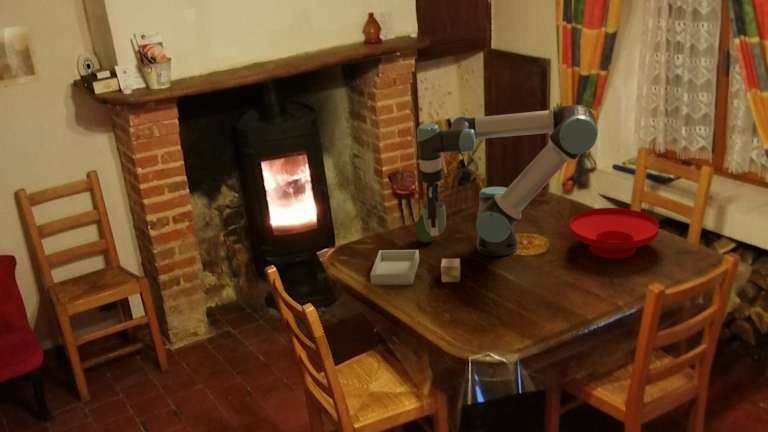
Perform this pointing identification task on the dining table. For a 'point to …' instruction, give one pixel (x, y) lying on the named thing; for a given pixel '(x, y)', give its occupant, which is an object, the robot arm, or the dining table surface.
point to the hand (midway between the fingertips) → (435, 230)
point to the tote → (395, 267)
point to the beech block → (450, 270)
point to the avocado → (422, 231)
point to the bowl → (614, 230)
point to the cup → (440, 217)
